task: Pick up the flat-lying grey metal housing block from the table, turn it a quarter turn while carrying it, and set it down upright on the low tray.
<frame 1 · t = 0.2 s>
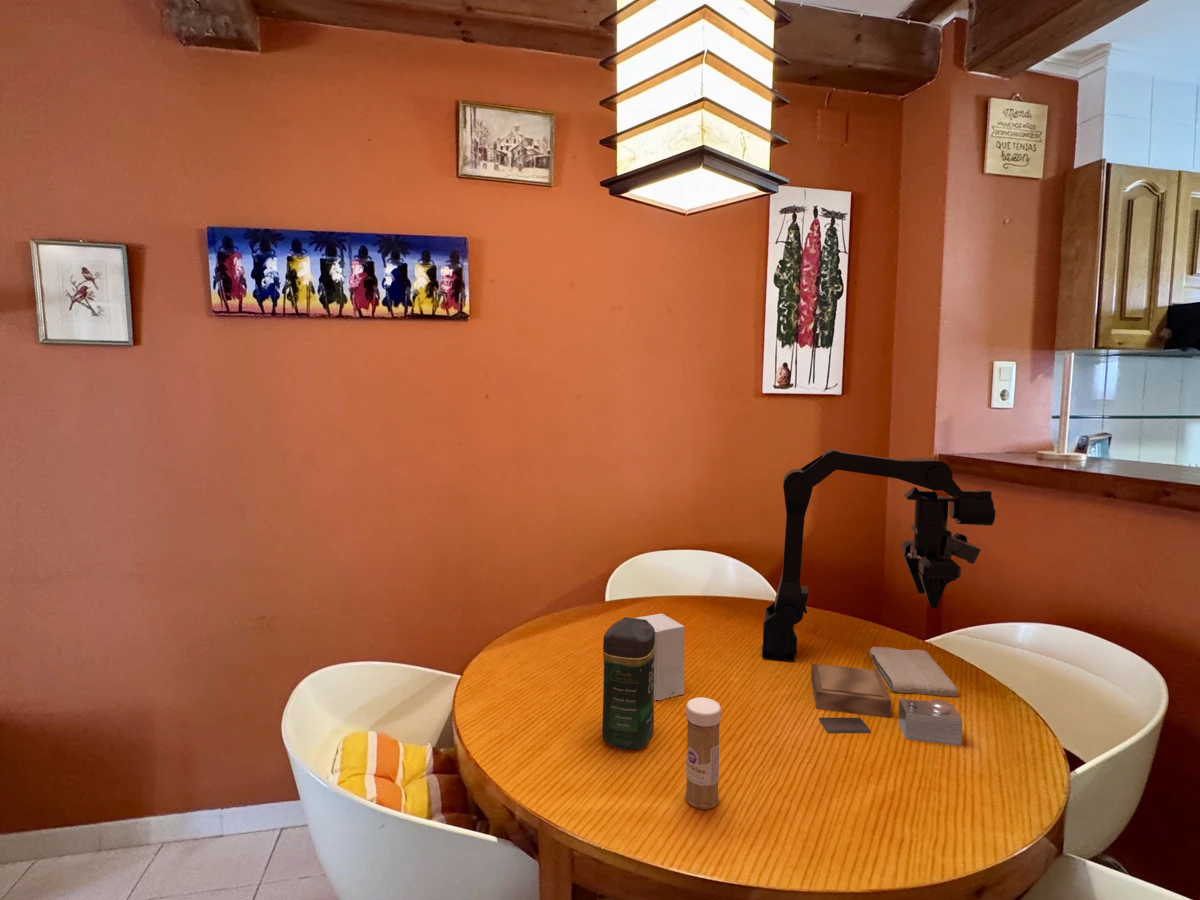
hand: (927, 600, 120), 15 cm above the table, tool pointing down, fingers open, 9 cm apart
small box: (658, 690, 114), on the table
sprinkles bottle: (702, 801, 82), on the table
coffee jar: (629, 736, 98), on the table
tray: (848, 696, 111), on the table
housing: (928, 735, 98), on the table
cover plate: (844, 729, 101), on the table
washcloth: (909, 677, 120), on the table
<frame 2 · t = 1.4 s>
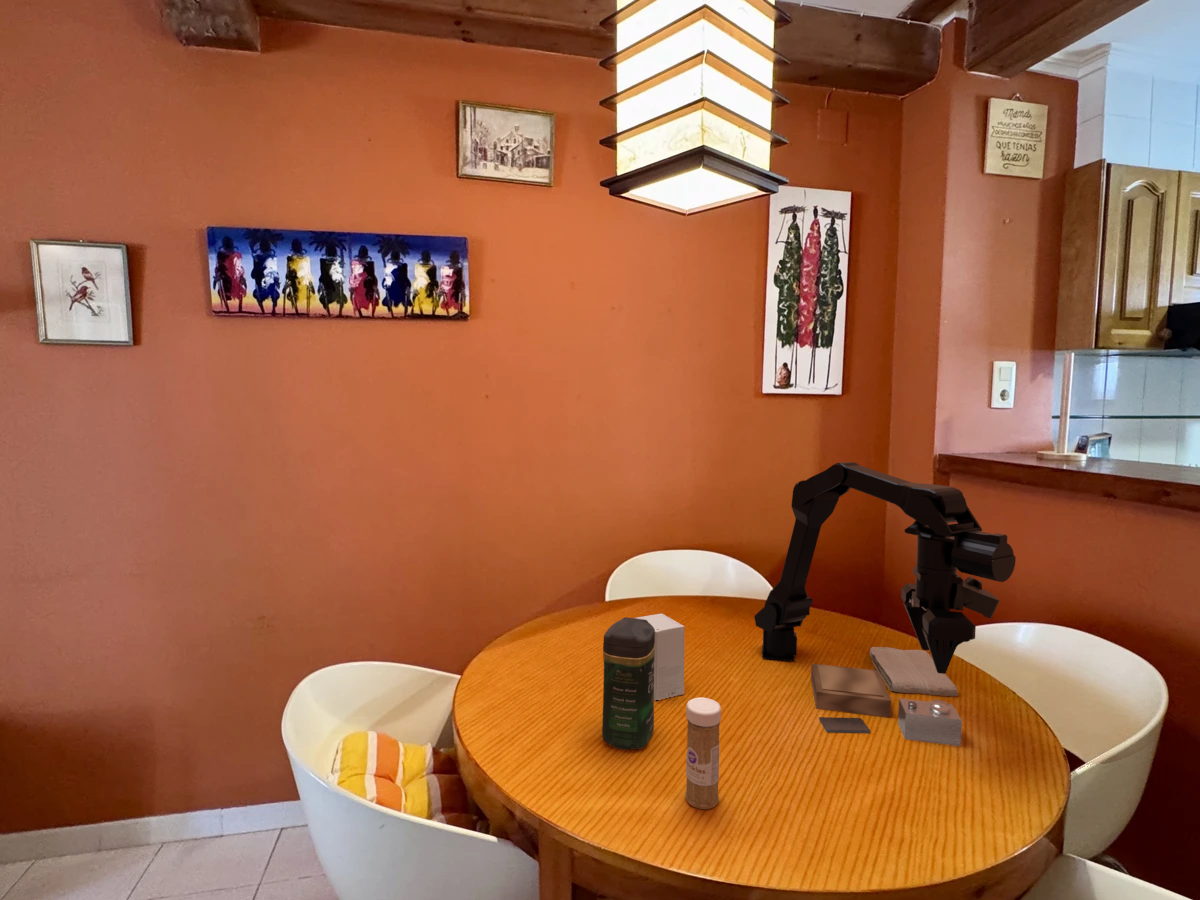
hand: (933, 660, 97), 12 cm above the table, tool pointing down, fingers open, 9 cm apart
nothing on the table moved.
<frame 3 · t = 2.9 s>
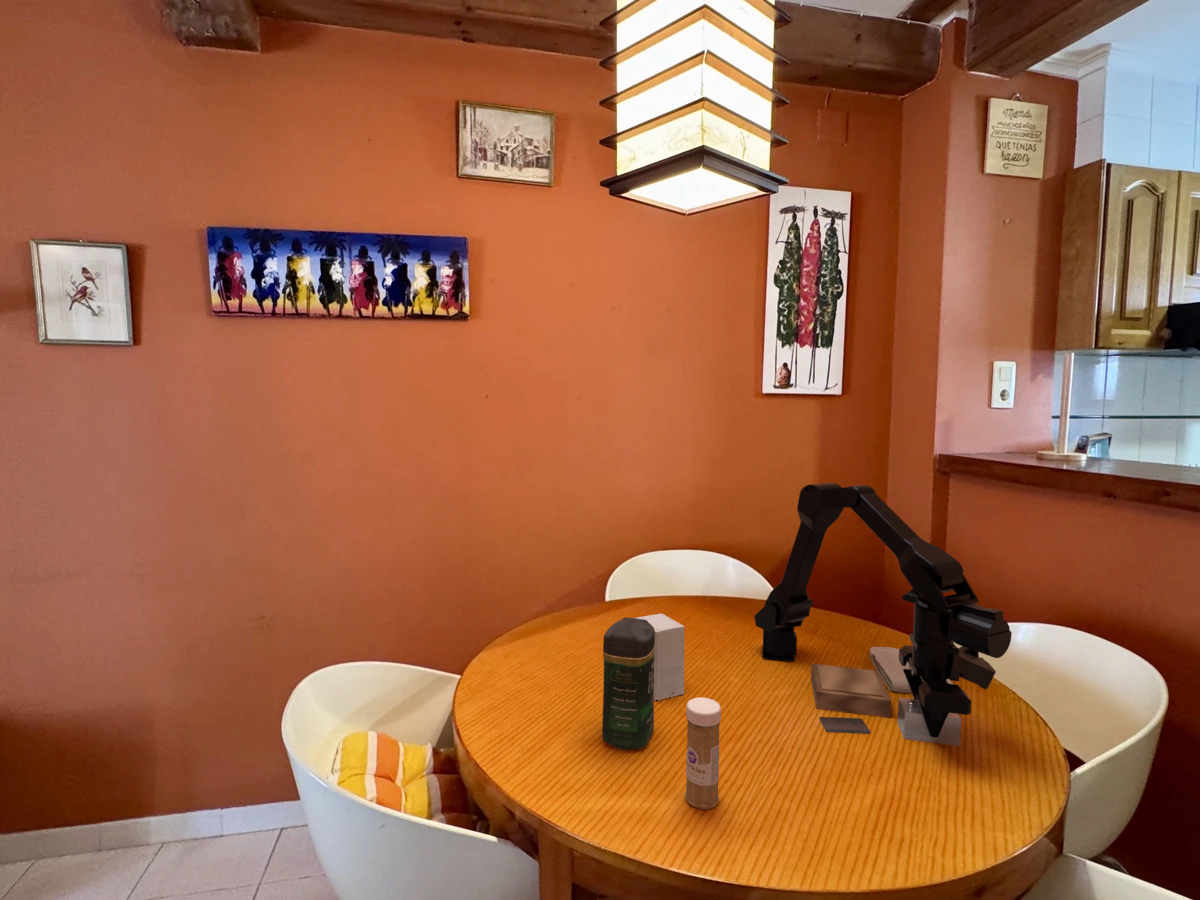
hand: (929, 728, 98), 1 cm above the table, tool pointing down, fingers open, 5 cm apart
nothing on the table moved.
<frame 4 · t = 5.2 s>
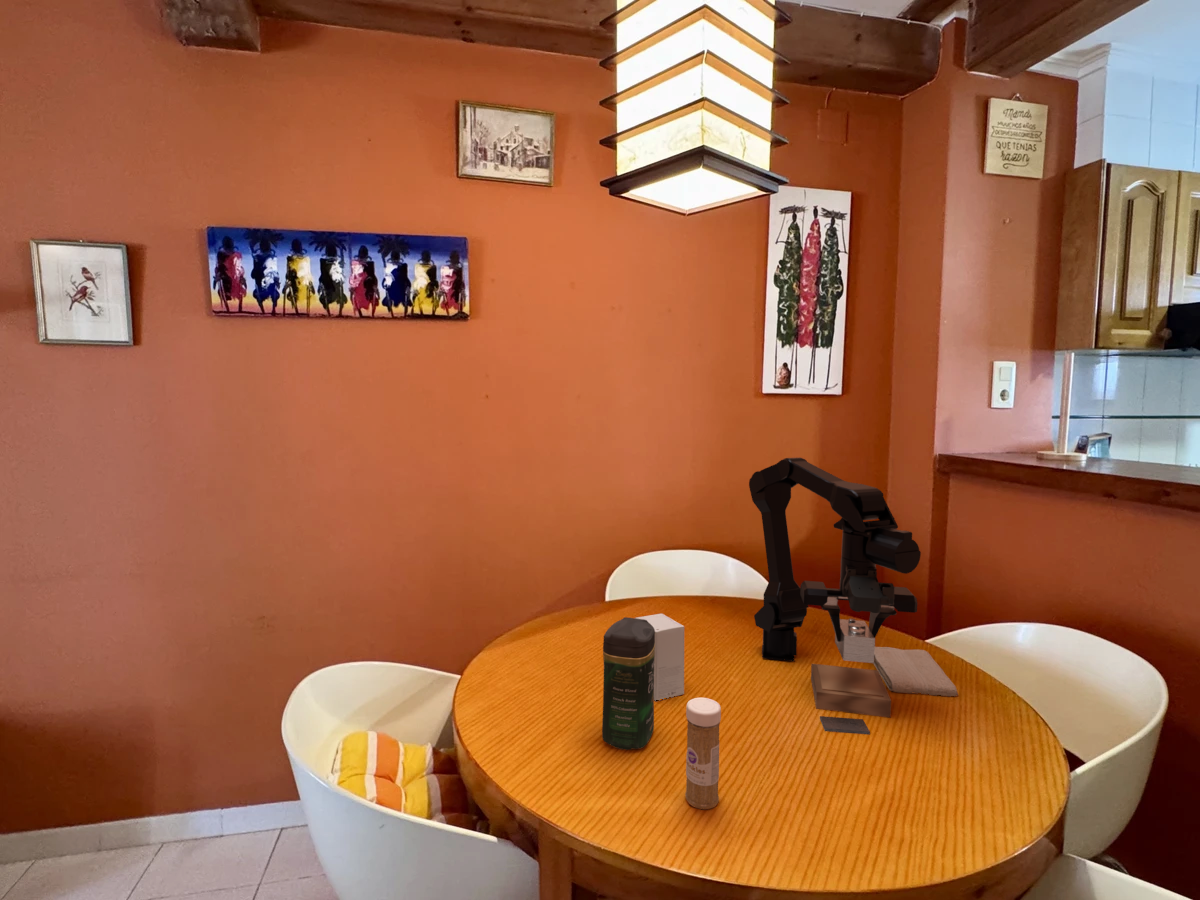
hand: (854, 642, 109), 11 cm above the table, tool pointing down, fingers closed on housing, 5 cm apart
housing: (853, 652, 109), point 9 cm above the table, touching gripper
everything else where it was.
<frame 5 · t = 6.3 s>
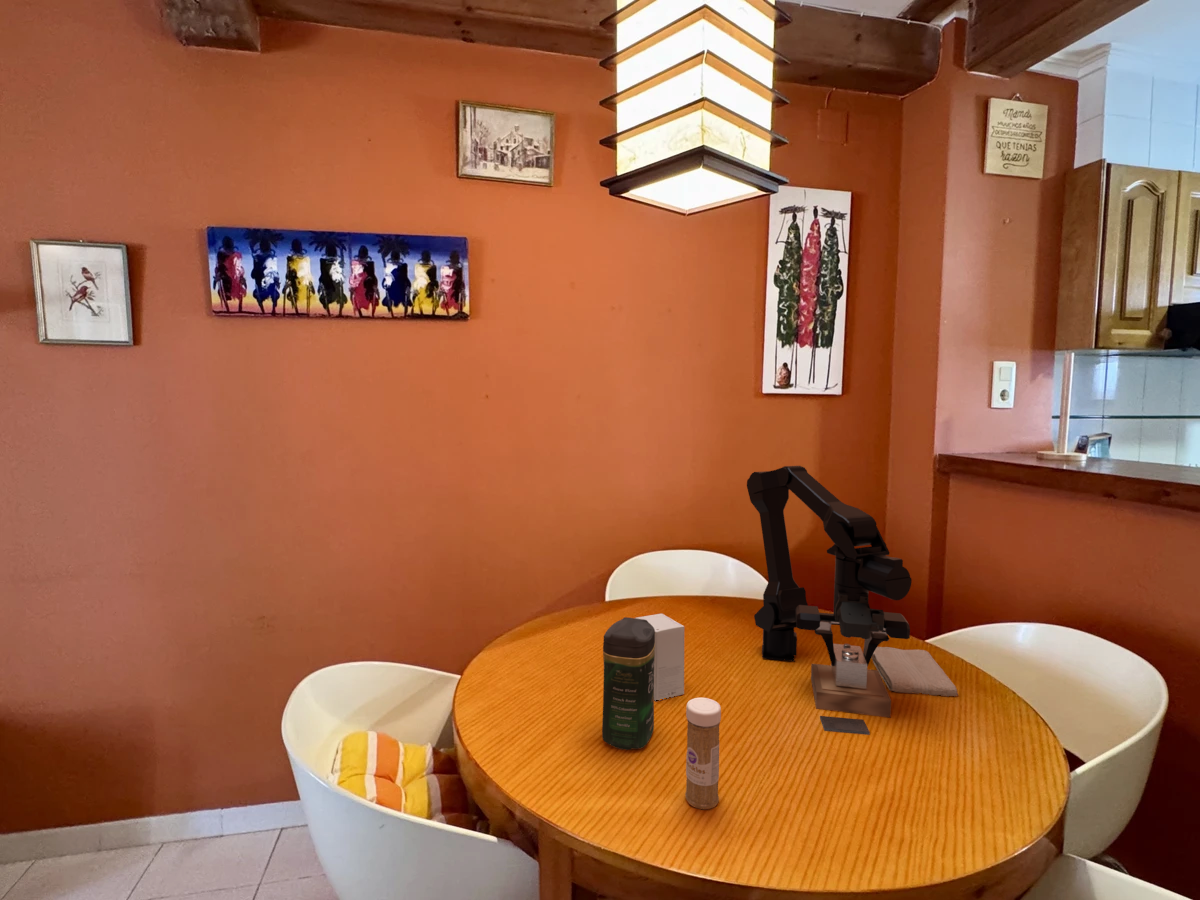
hand: (848, 666, 110), 6 cm above the table, tool pointing down, fingers closed on housing, 5 cm apart
housing: (848, 677, 111), point 4 cm above the table, touching gripper
everything else where it was.
when the fingers open (5 cm above the table, at t = 6.8 s): housing stays where it is, resting on tray.
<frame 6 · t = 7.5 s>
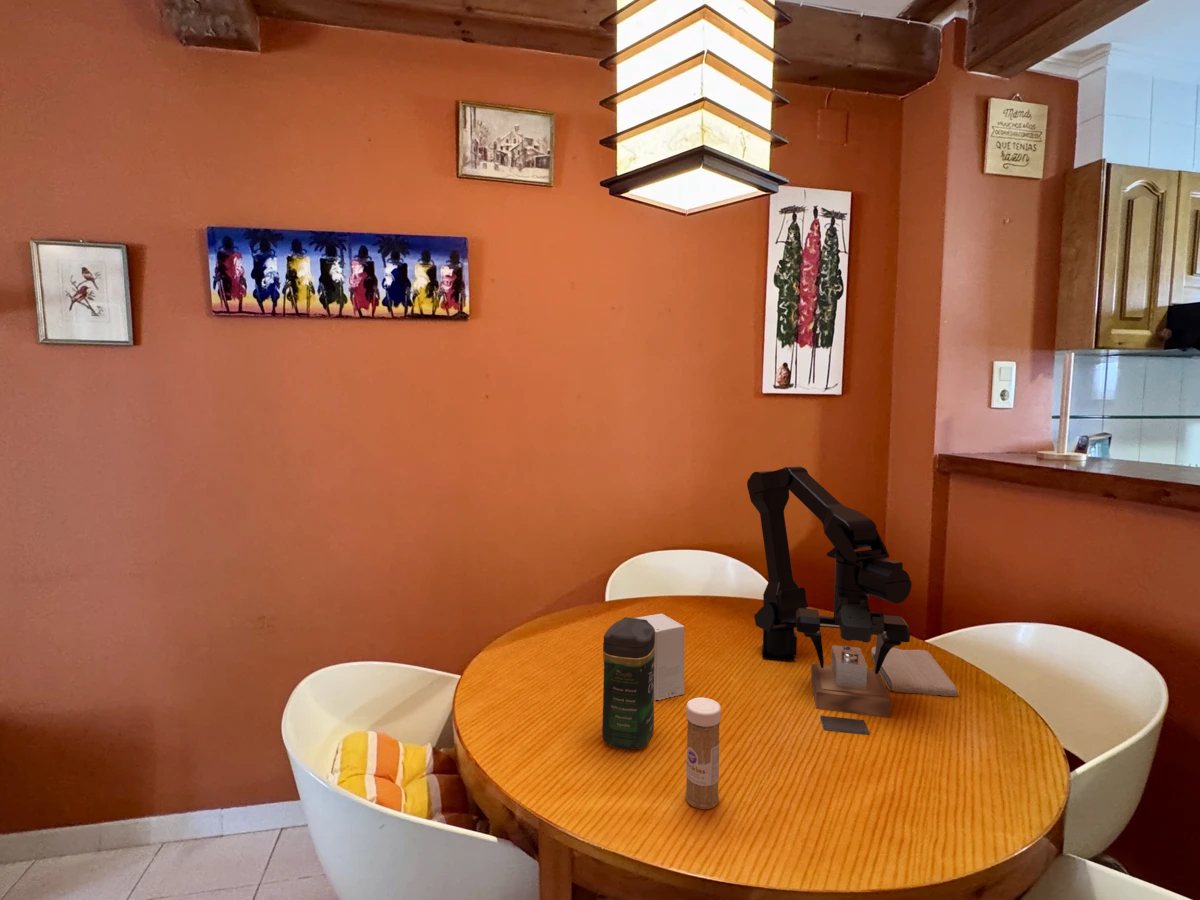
hand: (848, 670, 110), 5 cm above the table, tool pointing down, fingers open, 9 cm apart
housing: (847, 678, 111), point 3 cm above the table, touching tray
everything else where it was.
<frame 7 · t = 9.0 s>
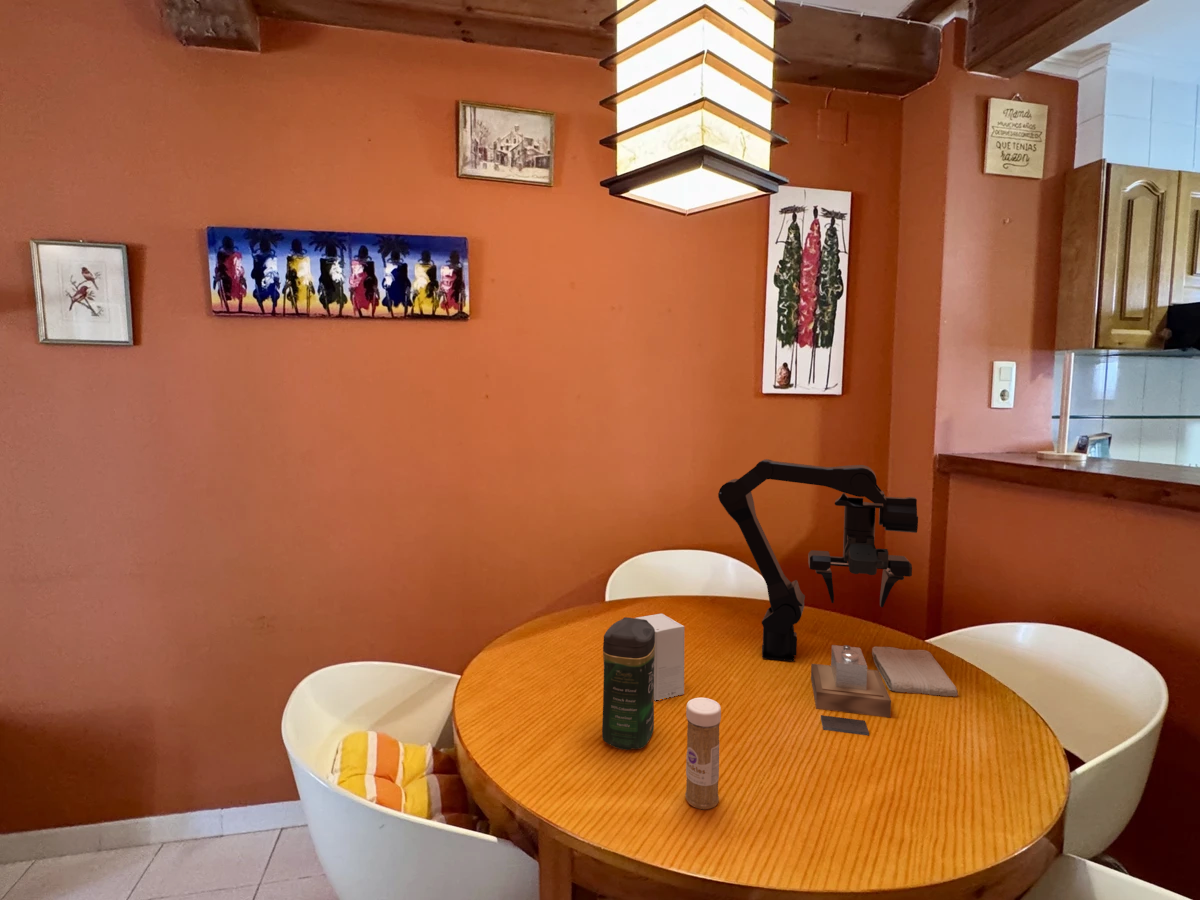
hand: (856, 604, 122), 13 cm above the table, tool pointing down, fingers open, 9 cm apart
nothing on the table moved.
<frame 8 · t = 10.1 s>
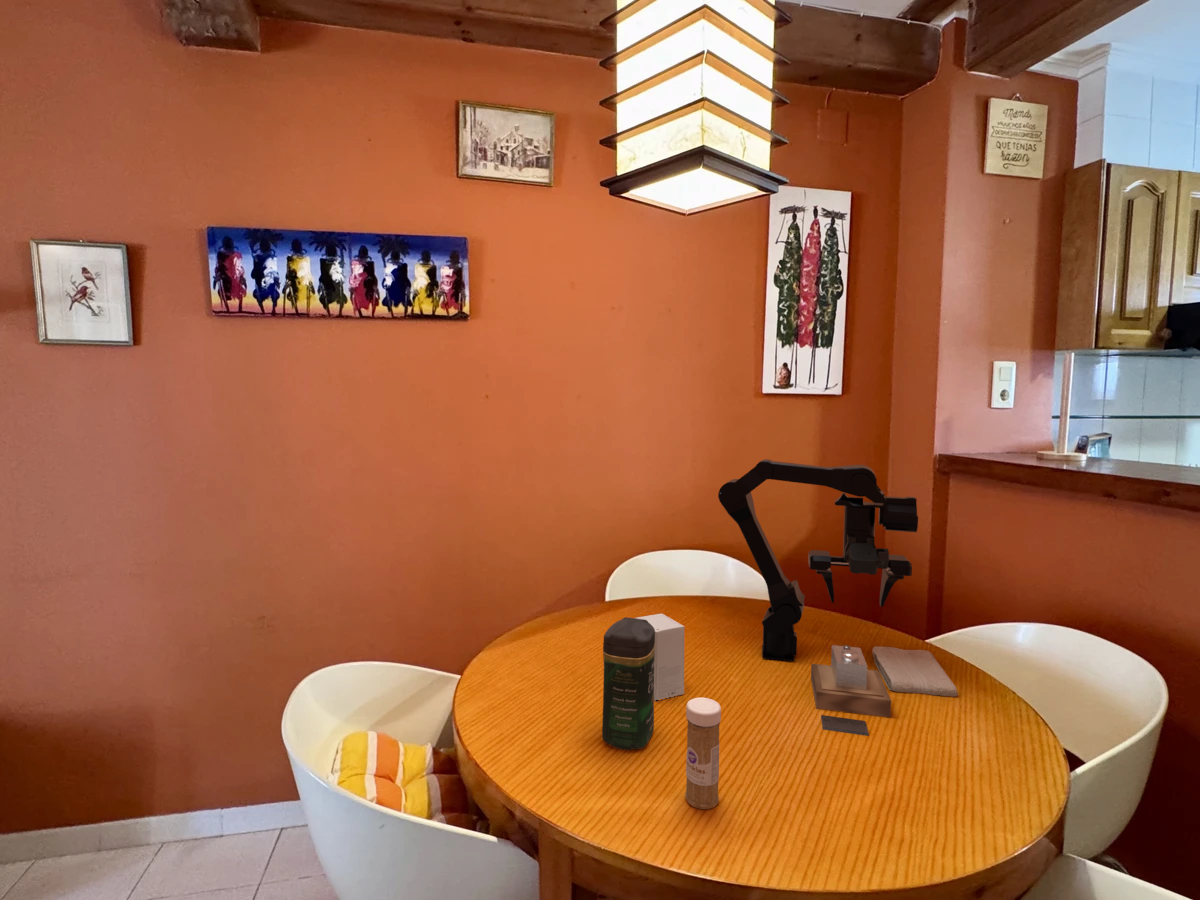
hand: (856, 604, 122), 13 cm above the table, tool pointing down, fingers open, 9 cm apart
nothing on the table moved.
at the end: housing inside the target area on the tray (0.3 cm from its centre), point 3.2 cm above the tray's base; housing tilted 0°; the gripper is holding nothing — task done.
